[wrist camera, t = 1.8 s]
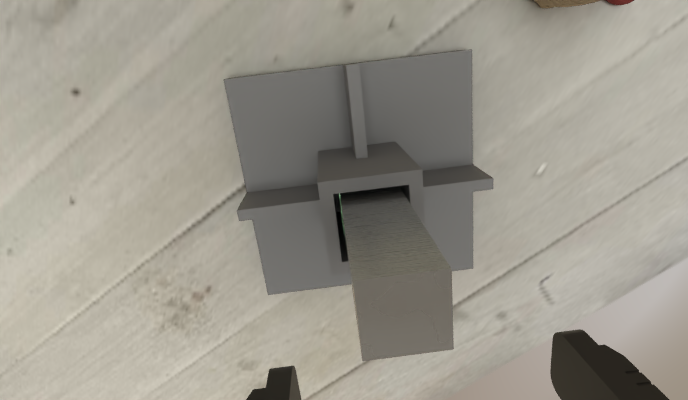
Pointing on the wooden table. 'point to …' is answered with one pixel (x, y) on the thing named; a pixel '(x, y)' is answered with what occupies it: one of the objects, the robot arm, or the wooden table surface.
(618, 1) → the pliers
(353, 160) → the stand
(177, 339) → the wooden table surface
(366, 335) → the column
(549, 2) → the handle
